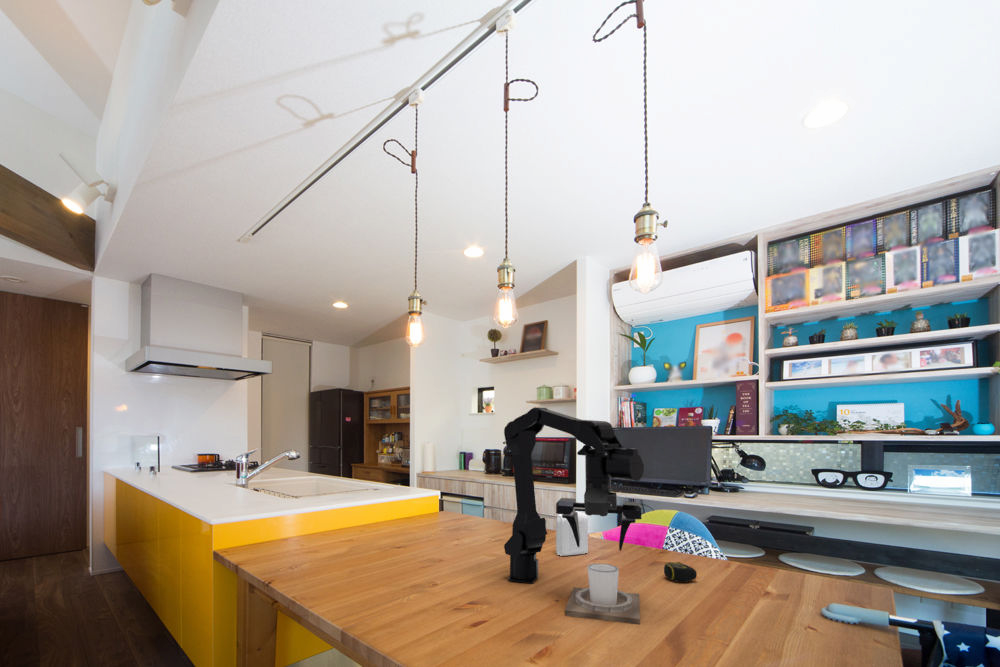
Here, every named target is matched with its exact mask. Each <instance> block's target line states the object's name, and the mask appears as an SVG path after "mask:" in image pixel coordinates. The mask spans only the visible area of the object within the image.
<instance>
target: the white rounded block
mask: <svg viewBox="0 0 1000 667" xmlns="http://www.w3.org/2000/svg"><path fill="white" fill-rule="evenodd" d="M576 512H577V513H578V524H579V534H580V546H579V547H577V544H576V540H575V537H574V534H573V531H572V528H571V526H570V524H569V522H568V520H567V519H566V518H562V515H563V514H557V516H556V520H555V553H556V555H557V556H559V555H560V557H564V556H566V557H567V556H574V555H575V556H576V555H584V554H585V553H587V554H588V552H589V543H588V542H589V534H588V533H589V531H588V530H589V526H588V523H589V522H588V515H586V514H585V512H582V511H576ZM585 555H586V554H585Z"/></svg>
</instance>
